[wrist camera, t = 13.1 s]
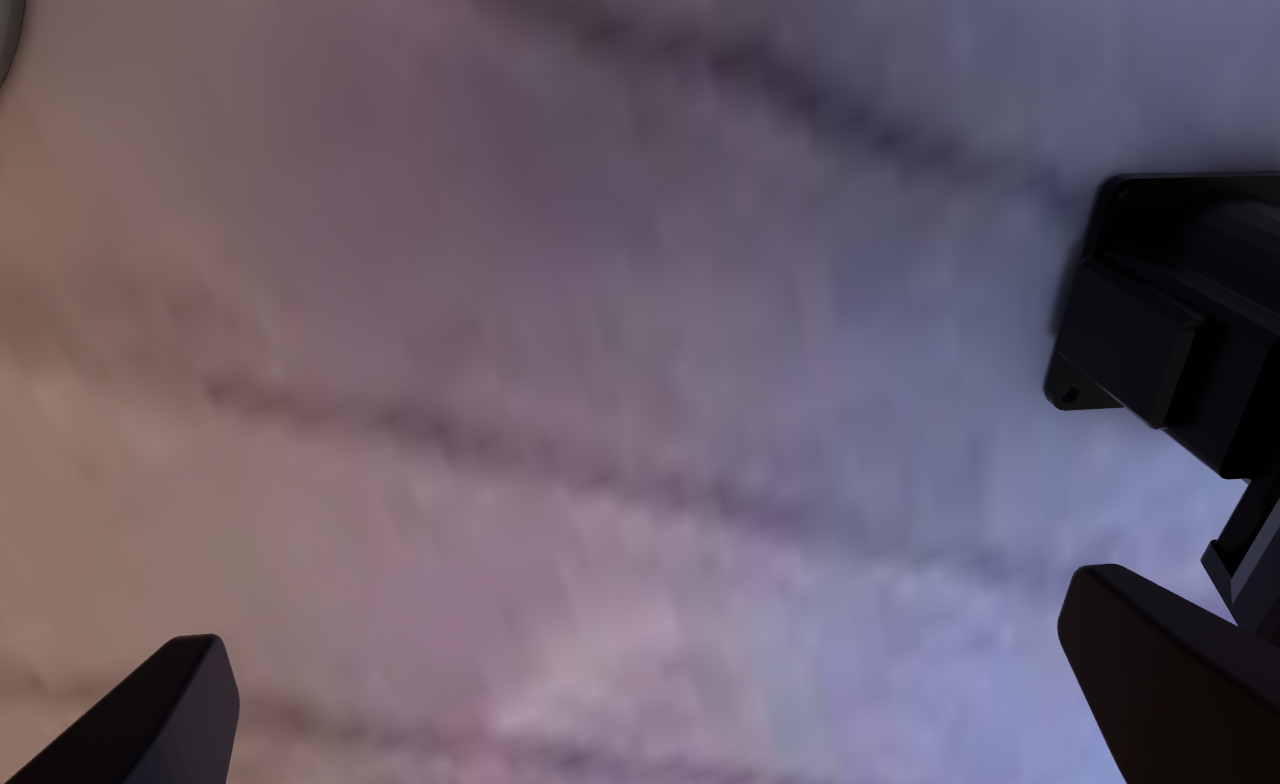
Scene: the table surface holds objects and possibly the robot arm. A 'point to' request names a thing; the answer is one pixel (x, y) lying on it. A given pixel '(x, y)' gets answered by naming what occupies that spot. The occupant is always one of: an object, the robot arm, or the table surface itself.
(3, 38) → the slate coaster
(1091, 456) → the table surface
